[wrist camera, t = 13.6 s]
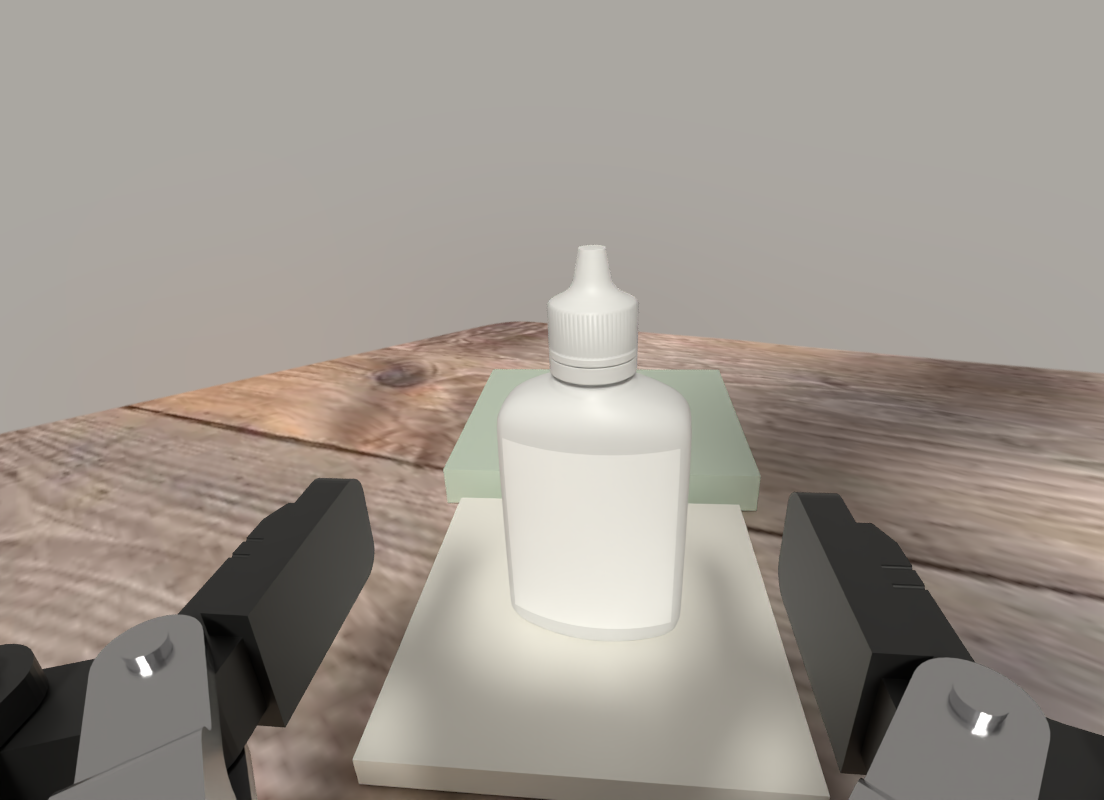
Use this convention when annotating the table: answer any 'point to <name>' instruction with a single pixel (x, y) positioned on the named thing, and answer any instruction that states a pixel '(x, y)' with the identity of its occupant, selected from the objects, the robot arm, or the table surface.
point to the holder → (716, 431)
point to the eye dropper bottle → (595, 474)
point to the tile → (592, 686)
